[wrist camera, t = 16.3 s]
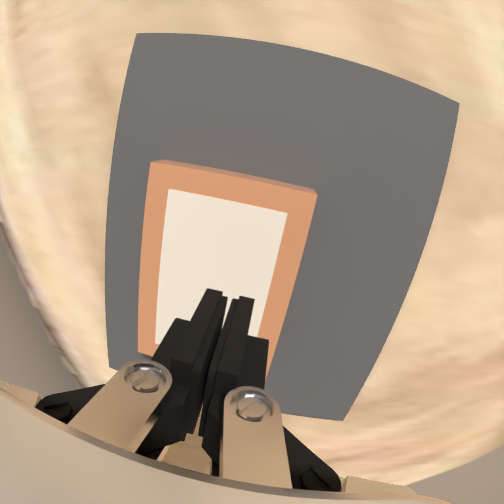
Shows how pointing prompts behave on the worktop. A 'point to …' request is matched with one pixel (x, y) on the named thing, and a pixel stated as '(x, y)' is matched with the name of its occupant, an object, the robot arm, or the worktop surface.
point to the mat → (293, 172)
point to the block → (218, 246)
